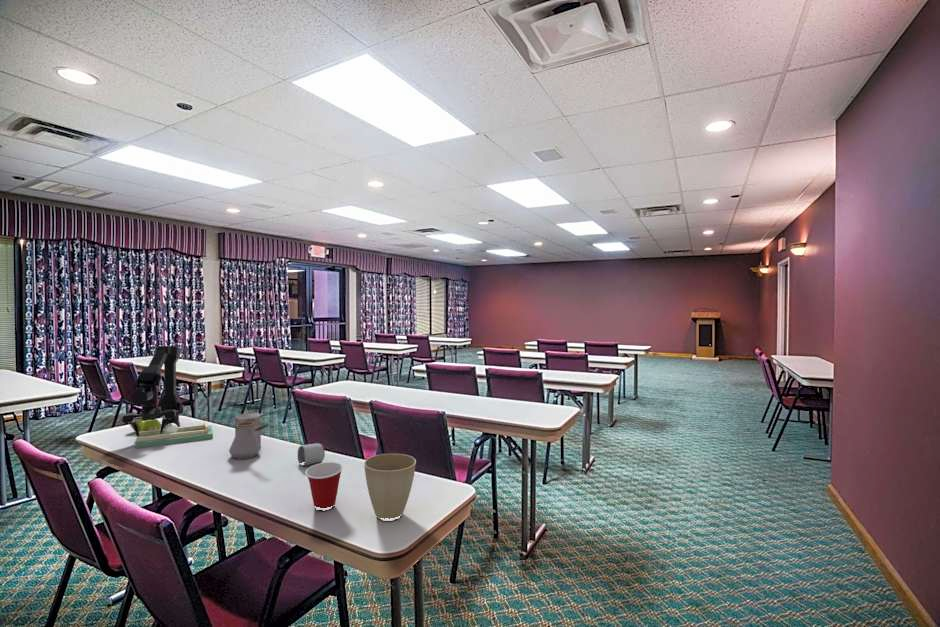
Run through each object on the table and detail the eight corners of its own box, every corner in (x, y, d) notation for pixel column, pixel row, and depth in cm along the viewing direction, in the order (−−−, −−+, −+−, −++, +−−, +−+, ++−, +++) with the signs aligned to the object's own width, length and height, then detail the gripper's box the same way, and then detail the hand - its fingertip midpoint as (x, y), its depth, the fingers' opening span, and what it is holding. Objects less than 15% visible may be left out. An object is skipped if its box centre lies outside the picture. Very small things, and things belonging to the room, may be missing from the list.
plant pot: (402, 531, 122) (403, 473, 122) (353, 524, 126) (354, 467, 126) (423, 508, 137) (423, 455, 136) (378, 501, 141) (379, 450, 140)
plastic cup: (296, 510, 134) (297, 470, 134) (324, 497, 143) (324, 459, 143) (323, 519, 129) (323, 477, 129) (350, 504, 138) (350, 465, 138)
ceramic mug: (325, 463, 173) (325, 443, 173) (305, 468, 168) (305, 448, 168) (313, 457, 181) (313, 437, 181) (293, 461, 175) (293, 442, 175)
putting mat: (138, 438, 202) (138, 427, 202) (211, 429, 217) (211, 419, 217) (135, 448, 188) (135, 436, 188) (212, 438, 203) (212, 427, 203)
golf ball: (164, 433, 202) (165, 422, 202) (177, 432, 205) (178, 421, 205) (163, 436, 198) (164, 425, 198) (177, 435, 201) (178, 424, 201)
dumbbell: (162, 434, 208) (162, 418, 208) (142, 438, 202) (142, 422, 202) (148, 428, 218) (148, 413, 218) (129, 431, 211) (128, 416, 211)
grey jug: (240, 444, 195) (240, 409, 195) (264, 443, 196) (264, 409, 196) (231, 451, 186) (230, 415, 185) (256, 451, 187) (255, 415, 186)
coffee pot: (223, 457, 179) (223, 419, 179) (250, 449, 189) (250, 413, 188) (254, 468, 168) (254, 427, 167) (282, 459, 177) (282, 421, 177)
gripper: (120, 405, 185) (120, 443, 186) (174, 401, 195) (174, 437, 195) (124, 400, 195) (124, 436, 195) (175, 396, 205) (175, 430, 205)
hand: (149, 435), depth 197 cm, fingers open, 8 cm apart
